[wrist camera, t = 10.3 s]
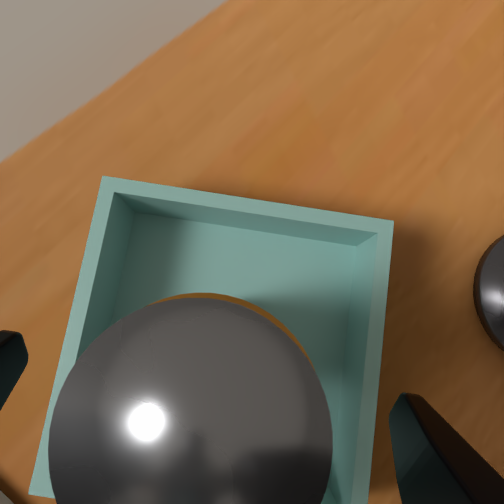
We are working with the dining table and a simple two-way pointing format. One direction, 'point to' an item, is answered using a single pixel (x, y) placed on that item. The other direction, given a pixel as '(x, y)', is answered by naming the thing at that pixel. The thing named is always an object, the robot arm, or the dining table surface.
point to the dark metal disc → (491, 291)
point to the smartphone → (4, 499)
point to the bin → (245, 293)
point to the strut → (192, 411)
